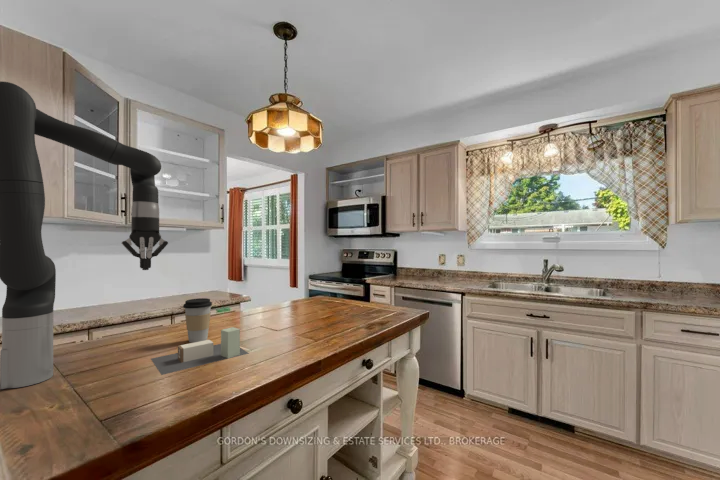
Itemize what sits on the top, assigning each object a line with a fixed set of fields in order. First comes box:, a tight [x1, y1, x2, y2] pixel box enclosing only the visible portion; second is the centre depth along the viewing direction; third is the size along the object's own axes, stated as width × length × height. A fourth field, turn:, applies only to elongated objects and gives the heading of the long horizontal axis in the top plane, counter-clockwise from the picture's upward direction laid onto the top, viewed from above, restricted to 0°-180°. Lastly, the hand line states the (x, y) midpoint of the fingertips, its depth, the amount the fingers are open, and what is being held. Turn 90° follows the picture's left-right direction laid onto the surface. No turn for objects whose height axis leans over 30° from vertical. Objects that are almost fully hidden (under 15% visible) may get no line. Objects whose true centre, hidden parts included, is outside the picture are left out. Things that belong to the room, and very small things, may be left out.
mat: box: [150, 343, 250, 376], centre depth 98 cm, size 24×16×1 cm, turn 132°
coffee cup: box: [182, 297, 213, 343], centre depth 114 cm, size 9×9×15 cm
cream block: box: [177, 339, 214, 363], centre depth 97 cm, size 4×4×9 cm
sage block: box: [220, 326, 241, 359], centre depth 99 cm, size 4×4×8 cm
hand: (145, 269), depth 103 cm, fingers closed
